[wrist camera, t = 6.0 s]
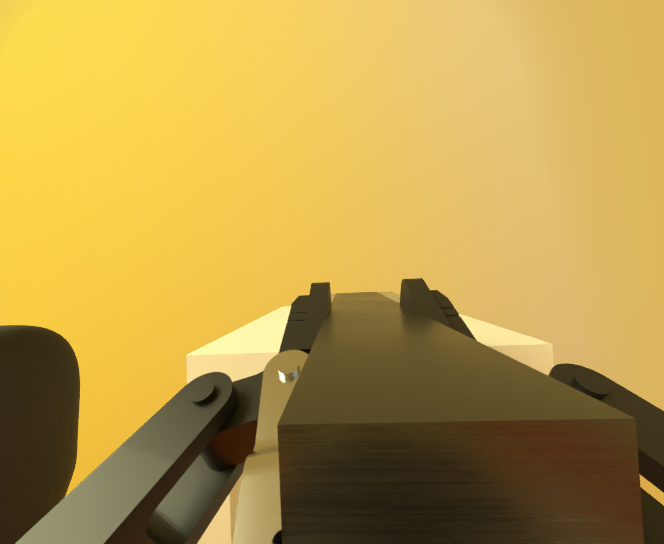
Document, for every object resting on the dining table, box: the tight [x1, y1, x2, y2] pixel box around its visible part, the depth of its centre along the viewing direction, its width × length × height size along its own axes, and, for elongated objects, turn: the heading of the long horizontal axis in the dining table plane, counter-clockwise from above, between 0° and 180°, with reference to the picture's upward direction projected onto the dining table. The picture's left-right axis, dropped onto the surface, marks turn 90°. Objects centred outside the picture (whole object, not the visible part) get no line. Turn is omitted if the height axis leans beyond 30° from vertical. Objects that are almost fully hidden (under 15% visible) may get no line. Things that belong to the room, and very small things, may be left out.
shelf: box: [186, 306, 554, 544], centre depth 22 cm, size 20×18×32 cm
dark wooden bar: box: [277, 292, 644, 544], centre depth 15 cm, size 26×9×2 cm, turn 177°
